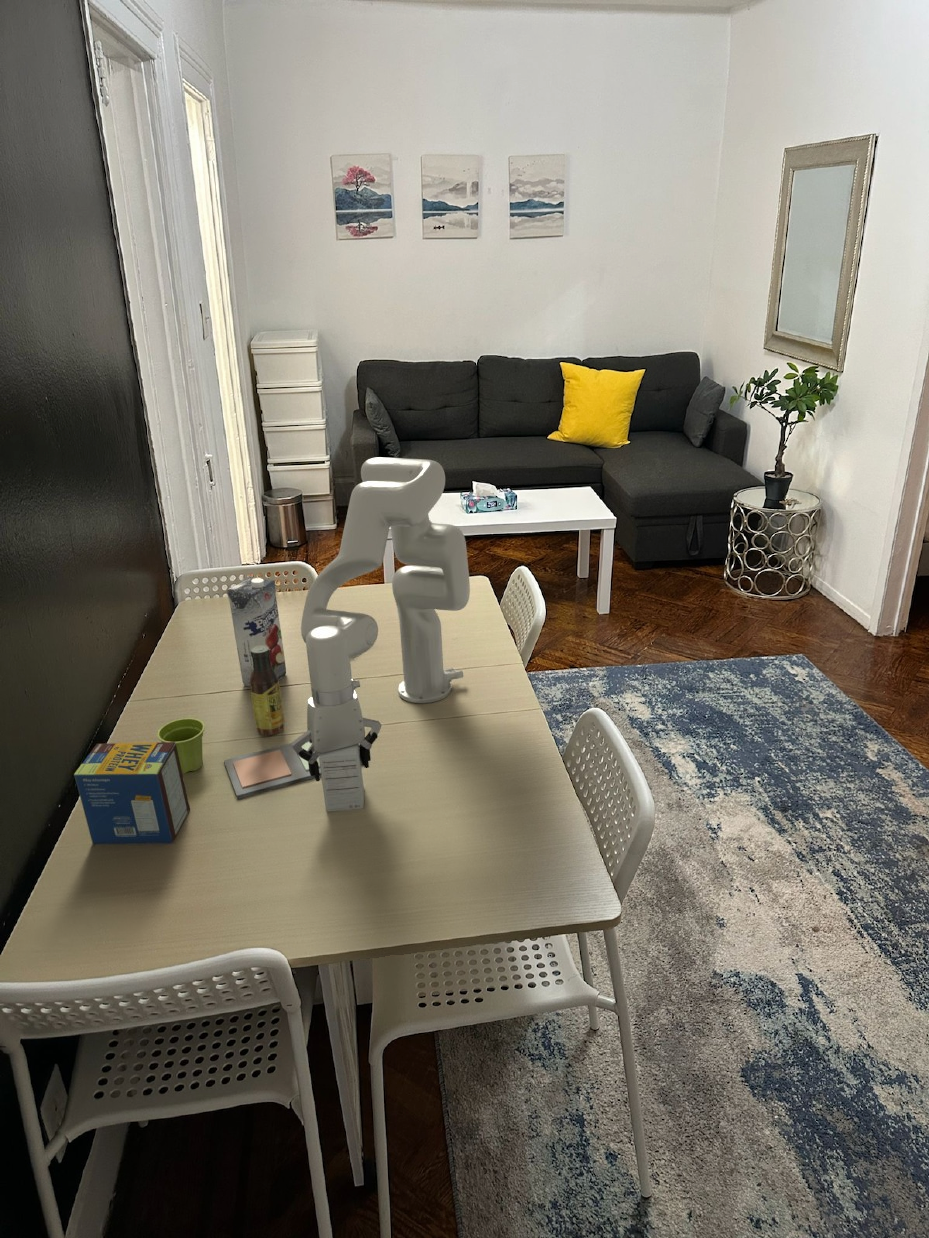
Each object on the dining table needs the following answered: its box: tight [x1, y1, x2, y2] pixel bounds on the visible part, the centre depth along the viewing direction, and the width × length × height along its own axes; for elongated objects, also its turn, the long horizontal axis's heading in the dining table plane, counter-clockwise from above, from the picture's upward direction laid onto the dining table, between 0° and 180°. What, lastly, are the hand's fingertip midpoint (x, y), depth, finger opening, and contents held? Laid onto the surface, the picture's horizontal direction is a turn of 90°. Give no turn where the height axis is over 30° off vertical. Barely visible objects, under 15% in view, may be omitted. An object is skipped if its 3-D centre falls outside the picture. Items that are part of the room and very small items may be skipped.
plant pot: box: [157, 717, 206, 774], centre depth 184 cm, size 9×9×9 cm
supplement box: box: [319, 743, 365, 812], centre depth 170 cm, size 7×7×13 cm
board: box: [223, 741, 364, 800], centre depth 184 cm, size 26×14×1 cm, turn 114°
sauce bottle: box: [250, 645, 285, 736], centre depth 194 cm, size 7×6×20 cm
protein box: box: [73, 742, 191, 845], centre depth 164 cm, size 10×15×16 cm
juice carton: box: [226, 576, 287, 688], centre depth 214 cm, size 9×10×27 cm
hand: (340, 770), depth 169 cm, fingers open, 9 cm apart
